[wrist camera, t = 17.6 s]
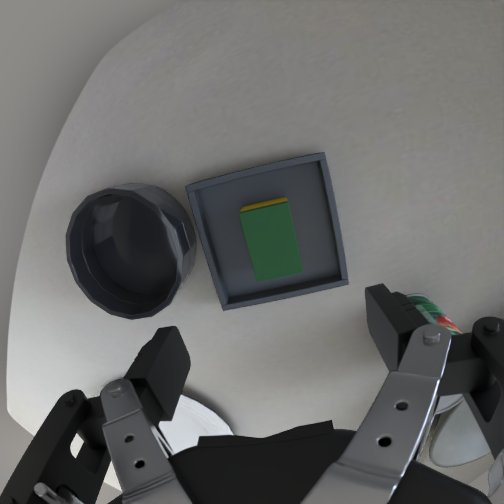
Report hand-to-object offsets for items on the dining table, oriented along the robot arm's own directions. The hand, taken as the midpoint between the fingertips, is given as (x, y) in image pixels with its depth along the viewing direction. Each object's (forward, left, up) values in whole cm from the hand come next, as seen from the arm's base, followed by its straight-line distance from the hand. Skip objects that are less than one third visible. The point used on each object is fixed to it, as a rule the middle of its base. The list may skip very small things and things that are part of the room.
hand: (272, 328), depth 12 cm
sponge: (0, 0, -16) cm, 16 cm away
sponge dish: (0, 0, -17) cm, 17 cm away
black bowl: (-2, -13, -17) cm, 21 cm away
